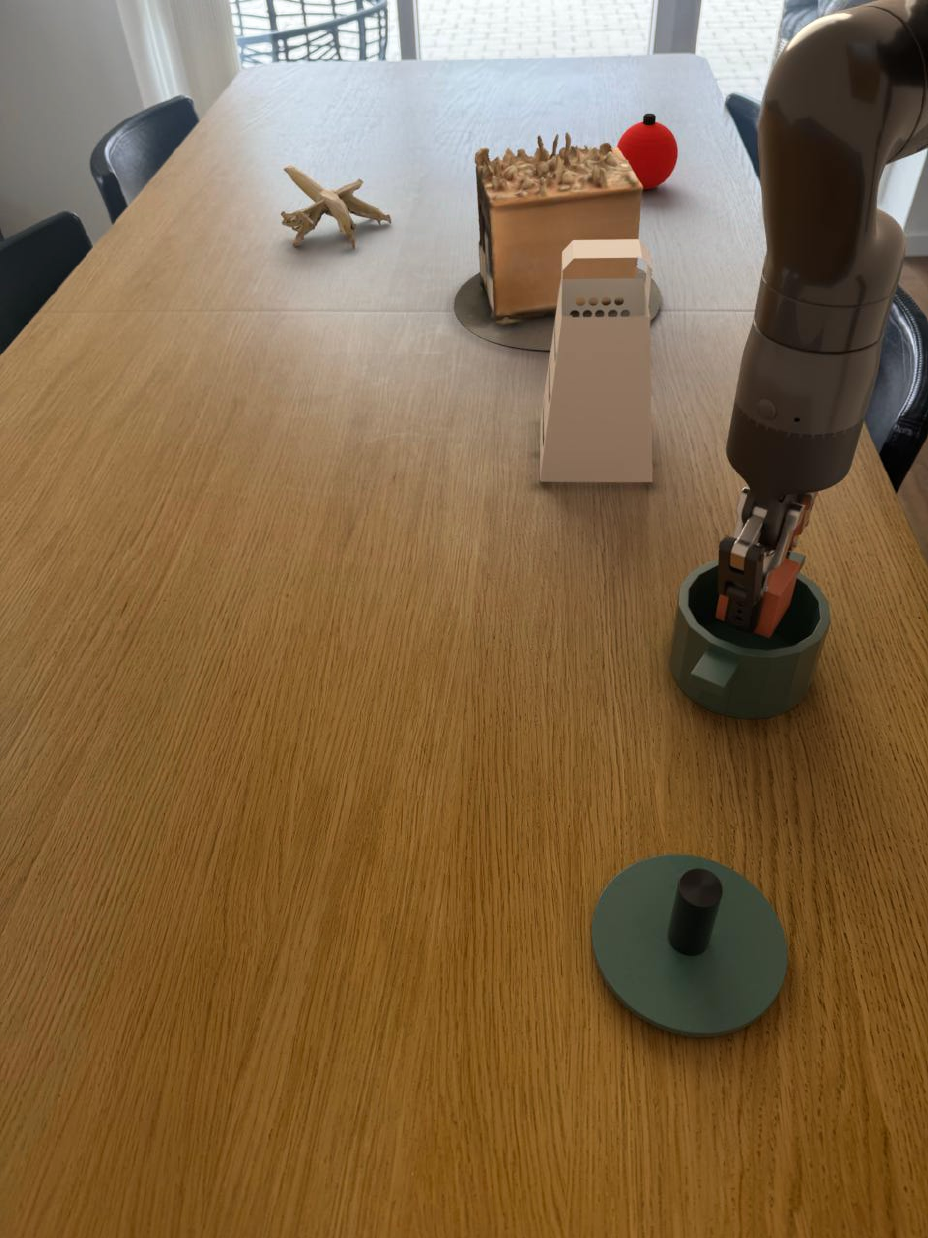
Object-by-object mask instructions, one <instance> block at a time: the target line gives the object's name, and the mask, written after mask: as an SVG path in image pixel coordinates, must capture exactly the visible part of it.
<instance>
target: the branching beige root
mask: <svg viewBox="0 0 928 1238" xmlns="http://www.w3.org/2000/svg"><path fill="white" fill-rule="evenodd" d="M282 170H283V171H284V172H285V173H286V174H287V175H288V177H289V178H290V179H291V181H292V182H293V183H294V184H295V185H296V186H297V187H298V188H299V189H300V190H301V191H302V192H303V193H304V194H305V195H306V196H307V197H308V198H310V199H311V200H312V201H313V202H314V203H313V204H311V205H309V206H307V207H304V208H302V209H297V210H295V211H294V212H291V213H286V211H284V210H282V211H281V213H280V216H281V217H282V218H283V220H282V221H281V224H282V226H284V227H285V226H286V227H288V228H291V230H292V231H294V232H297V233H296V235H295V238H294V240H293V243H292V247H298V246H299V247H301V245H300V244H301V243H303V242H304V240H305V236H306V235H308V234H309V233H311V231H312V230H313V231H314V230H315V229H316V227H317V226H318V224H319V222H320V221H321V219H322V216H323V215H324V214H325V215H327V216H329V217H332V218H334V219H335V220H336V223H337V226H338V229H339V232H340V233H341V234H342V235H343V236H344V235H345V237H347V238H348V242H349V243H350V244H351V248H352V249H355V248H356V239H355V235H354V232H355V231H356V228H357V223H356V222H354V221H353V219H352V217H351V216H350V215H351V214H352V215H354V216H356V217H359V218H360V217H361V218H365V219H370V220H374V221H376V222H377V223H378V224H379V225H381V221H386V222H388V224H390V225H392V218H391V215H390V214H385V213H384V212H383V211H382V210H380V209H379V208H378V207H376V206H374V205H372V204H369V203H368V202H366V201H364V200H362V199H360V198H358V197H356V196H354V195H353V194H354V193H355V191H357V190H359V189H361V187H362V186H363V184H364V181H363V180H362V179H361V178H358V179H357V180H356V181H353V182H351V183H348V184H346V185H344V186H342V187H340V188H338V189H325V188H324V187H323V186H322V185H321V184H320V183H318V182H317V181H316V180H314V179H313V177H311V176H309V175H307V174H306V173H305V172H303V171H302V170H300V169H299V168H297V167H296V166H294V165H291V164H290V165H288V166H286V167H285V168H283V169H282Z"/></svg>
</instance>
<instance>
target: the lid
mask: <svg viewBox="0 0 928 1238" xmlns="http://www.w3.org/2000/svg"><path fill="white" fill-rule="evenodd" d="M590 931H591V932H590V940H591V941H590V942H591V950H592V954H593V958H594V962H595V964H596V967H597V970H598V972H599V974H600V976H601V978H602V980H603V982H604V983H605V985H606V986H607V988H608V989H609V990H610V992H611V993H612V995H613V996H614V997H615V998H616V1000H618V1001H619V1002H620V1003H621V1004H622V1006H624V1007H625V1008H626V1009H627V1010H628V1011H629V1012H631V1013H632V1014H633V1015H635V1016H636V1017H638V1018H639V1019H641V1020H642V1021H643V1022H645V1023H647V1024H649V1025H651V1026H653V1027H655V1028H657V1029H660V1030H662V1031H665V1032H668V1033H671V1034H675V1035H679V1036H683V1037H691V1038H714V1037H720V1036H721V1037H722V1036H727V1035H730V1034H732V1033H736V1032H738V1031H740V1030H743V1029H745V1028H747V1027H749V1026H750V1025H752V1024H753V1023H754V1022H757V1021H758V1020H760V1018H761V1017H763V1016H764V1014H766V1013H767V1012H768V1011H769V1009H770V1008H771V1007H772V1006H773V1004H774V1003H775V1001H776V999H777V998H778V996H779V994H780V992H781V989H782V987H783V984H784V983H785V982H784V981H785V979H786V975H787V970H788V959H789V958H788V944H787V939H786V934H785V931H784V928H783V926H782V924H781V921H780V918H779V916H778V914H777V912H776V911H775V909H774V907H773V906H772V904H771V903H770V901H769V900H768V899H767V897H765V895H764V894H763V893H762V891H760V890H759V888H758V887H757V886H756V885H754V884H753V883H752V882H751V881H750V880H749V879H747V878H746V877H744V876H743V875H741V873H739V872H737V871H736V870H734V869H732V868H731V867H729V866H727V865H724V864H723V863H720V862H717V861H716V860H713V859H709V858H705V857H702V856H697V855H693V854H682V853H668V854H667V853H666V854H659V855H654V856H651V857H647V858H643V859H640V860H639V861H636V862H634V863H632V864H631V865H629V866H627V867H625V868H623V869H622V870H621V871H620V872H617V874H616V875H615V876H614V877H613V878H612V879H610V881H609V882H608V883H607V884H606V886H605V887H604V889H603V890H602V891H601V893H600V895H599V897H598V899H597V901H596V905H595V907H594V910H593V915H592V919H591V927H590Z"/></svg>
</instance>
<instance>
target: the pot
mask: <svg viewBox="0 0 928 1238" xmlns="http://www.w3.org/2000/svg"><path fill="white" fill-rule="evenodd" d="M789 552H791V551H789ZM806 558H807V556H806V555H805V554H802V553H799V552H797V551H794V550H793V551H792V552H791V553H790V557H789V559H790V560H793V561H796V562H799V563H800V567H799V571H798V575H797V579H796V583H795V586H794V590H793V594H792V598H791V602H790V605H789V607H788V608H787V610H786V612H785V613H784V615H783V617H782V618H781V620H780V622H779V623H778V625H777V627H776V628H775V630H774V632H773V633H772V635H771V636H770V638H767V637H765V636H762V635H759V634H757V633H754V632H753V633H746V632H744V631H741V630H738V629H736V628H733V627H731V626H728V625H727V624H726V623H725V621H722V620H720V619H717V618H716V612H717V607H718V602H719V597H720V594H718V562H719V558H718V559H714V560H710V561H708V562H706V563H703V564H702V565H700V566H698V567H697V568H695V569H693V570H691V572H689V574H688V576H687V577H686V578H685V579H684V581H683V582H682V583H681V584H680V586H679V589H678V593H677V595H678V596H677V602H676V608H675V613H674V614H675V615H674V620H673V629H672V632H671V633H672V634H671V639H670V640H671V641H670V648H669V659H668V660H669V668H670V672H671V675H672V677H673V679H674V682H675V683H676V684H677V686H678V687H679V688H680V690H681V691H682V692H683V693H684V694H685V695H686V696H687V697H688V698H690V699H691V700H692V701H693V702H695V703H696V704H698V705H700V706H701V707H703V708H705V709H706V710H709V711H711V712H713V713H716V714H719V715H721V716H722V715H723V716H726V717H728V718H729V717H730V718H736V719H744V720H760V719H768V718H771V717H772V718H773V717H776V716H778V715H781V714H784V713H786V712H788V711H790V710H791V709H793V708H795V707H796V706H798V705H799V704H800V703H801V701H802V700H804V698H805V696H806V695H807V694H808V691H809V689H810V686H811V684H812V682H813V681H814V677H815V674H816V671H817V668H818V664H819V662H820V657H821V655H822V651H823V649H824V645H825V641H826V639H827V635H828V633H829V629H830V626H831V622H832V620H831V610H830V603H829V600H828V599H827V597H826V596H825V595H824V593H823V592H822V590H821V589H820V587H819V586H818V584H817V583H815V582H814V581H813V580H811V579H810V578H809V577H807V576H806V575H804V574H803V573H802V572H801V570H802V569H803V567H804V565H805V561H806Z"/></svg>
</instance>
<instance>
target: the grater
mask: <svg viewBox="0 0 928 1238" xmlns="http://www.w3.org/2000/svg"><path fill="white" fill-rule="evenodd" d="M574 258H640V259H641V258H642V260H644V262H645V263H646V271H645V273H646V283H645V284H644V278H619V279H562V276H563V270H564V268H565V267H566V266H567V265H568V264H569V263H570V262H571V261H572V260H573V259H574ZM651 262H652V261H651V257H650V251H649V250H648V248H647V247H646V246H645V245H644V243H643V242H642V241H641V239H640V238H639V239H620V240H573V241H572V242H571V243H570V244H569V245H568V246H567V247H566V248H565V249H564V250H563V252H562V272H561V281H560V288H559V295H558V302H557V309H556V316H555V323H554V330H553V337H552V344H551V350H549V358H548V365H547V372H546V379H545V380H546V381H545V387H544V393H543V399H542V407H541V415H540V421H539V425H540V427H539V429H540V430H539V431H540V432H539V440H540V441H539V482H540V483H653V481H654V480H653V434H652V433H653V425H652V424H653V423H652V421H653V420H652V362H651V361H652V359H651V357H652V356H651V355H652V354H651V351H652V350H651V321H650V314H649V308H648V305H649V294H650V284H651V278H652V273H653V272H652V271H653V268H652V263H651ZM579 297H582V298H584V299H585V304H584V305H582V306H578V305H577V304H576V299H577V298H579ZM592 297H596V298H597V299H598V303H597V304H596V305H594V306H591V305H590V304H589V302H588V301H589V299H590V298H592ZM604 297H609V298H610V299H611V303H610V304H609V305H607V306H605V305H603V304H602V302H601V301H602V299H603V298H604ZM617 297H622V298H623V299H624V302H623V304H622V305H619V306H618V305H616V304H615V303H614V300H615V299H616V298H617ZM573 310H577V311H578V312H579V314H580V315H579V317H572V316H573V315H570V313H571V312H572V311H573ZM585 310H590V311H591V312H592V316H591V317H583V315H582V314H583V312H584V311H585ZM597 310H603V311H604V317H596V316H595V313H596V311H597ZM610 310H616V311H617V313H618V314H617V316H616V317H609V316H608V312H609V311H610ZM623 310H628V311H630V316H629V317H621V312H622V311H623Z"/></svg>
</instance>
